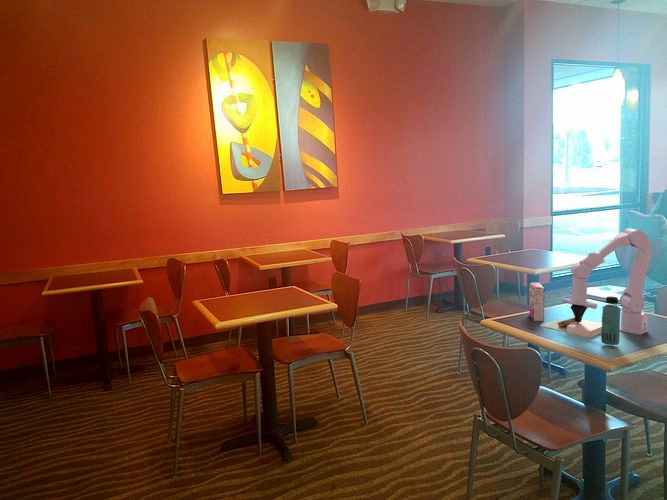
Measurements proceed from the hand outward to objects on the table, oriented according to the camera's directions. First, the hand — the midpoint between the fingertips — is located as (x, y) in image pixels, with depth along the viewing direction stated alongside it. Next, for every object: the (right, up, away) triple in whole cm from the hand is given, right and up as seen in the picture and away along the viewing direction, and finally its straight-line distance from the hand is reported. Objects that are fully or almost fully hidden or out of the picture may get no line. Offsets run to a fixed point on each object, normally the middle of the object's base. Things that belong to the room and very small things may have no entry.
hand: (578, 321), depth 214 cm
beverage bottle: (+2, -7, -21) cm, 22 cm away
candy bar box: (-10, -2, +20) cm, 23 cm away
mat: (-4, -3, +7) cm, 9 cm away
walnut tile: (-2, -1, +3) cm, 4 cm away
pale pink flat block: (+2, -4, -3) cm, 5 cm away
